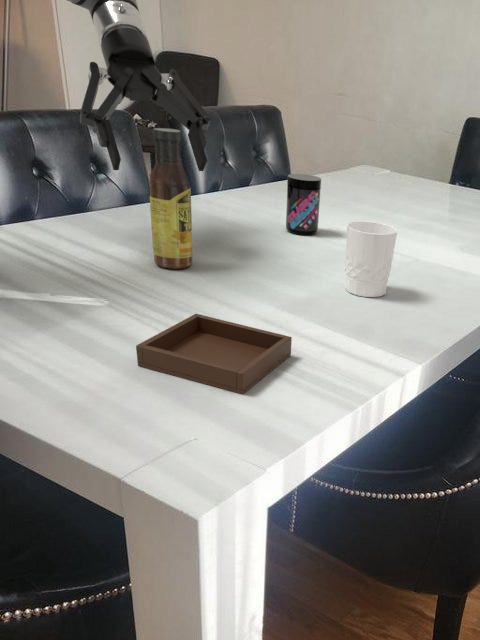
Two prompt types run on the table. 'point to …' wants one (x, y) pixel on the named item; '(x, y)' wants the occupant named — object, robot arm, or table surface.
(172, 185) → the sauce bottle
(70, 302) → the table surface
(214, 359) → the tray
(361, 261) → the white cup
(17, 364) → the table surface
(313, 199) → the supplement container
